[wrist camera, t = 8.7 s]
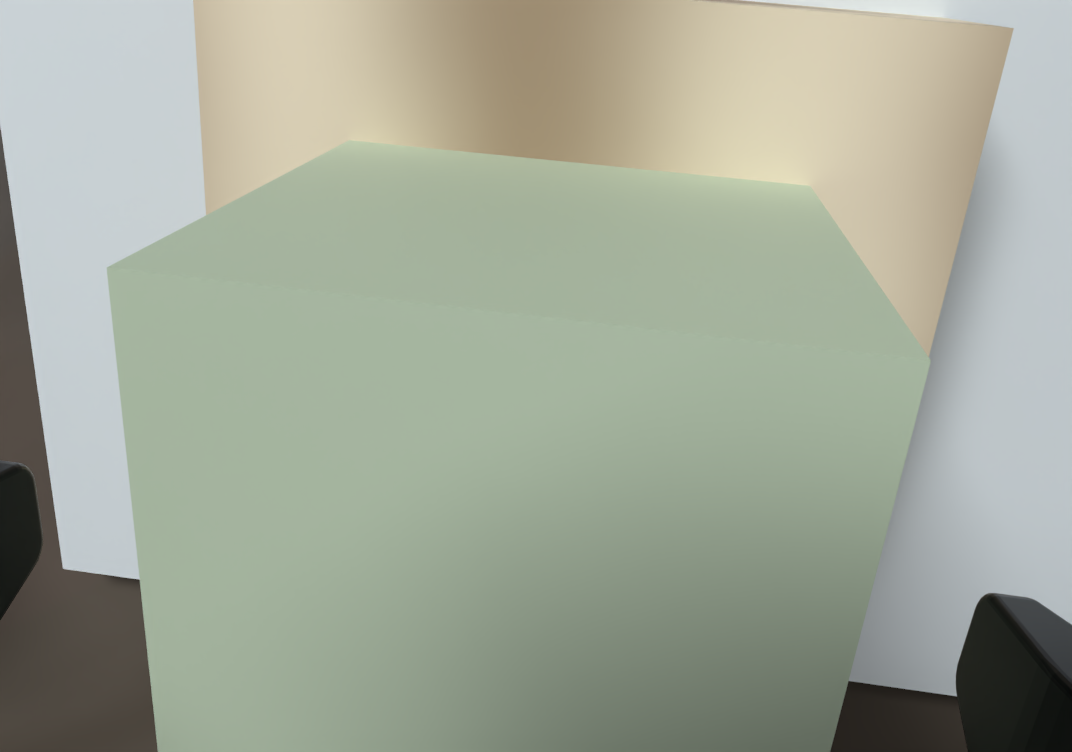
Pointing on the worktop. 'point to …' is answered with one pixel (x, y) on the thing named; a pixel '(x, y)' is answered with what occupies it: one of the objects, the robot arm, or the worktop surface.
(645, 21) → the birch plinth
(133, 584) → the worktop surface
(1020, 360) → the pale blue-grey board
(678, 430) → the sage cube
